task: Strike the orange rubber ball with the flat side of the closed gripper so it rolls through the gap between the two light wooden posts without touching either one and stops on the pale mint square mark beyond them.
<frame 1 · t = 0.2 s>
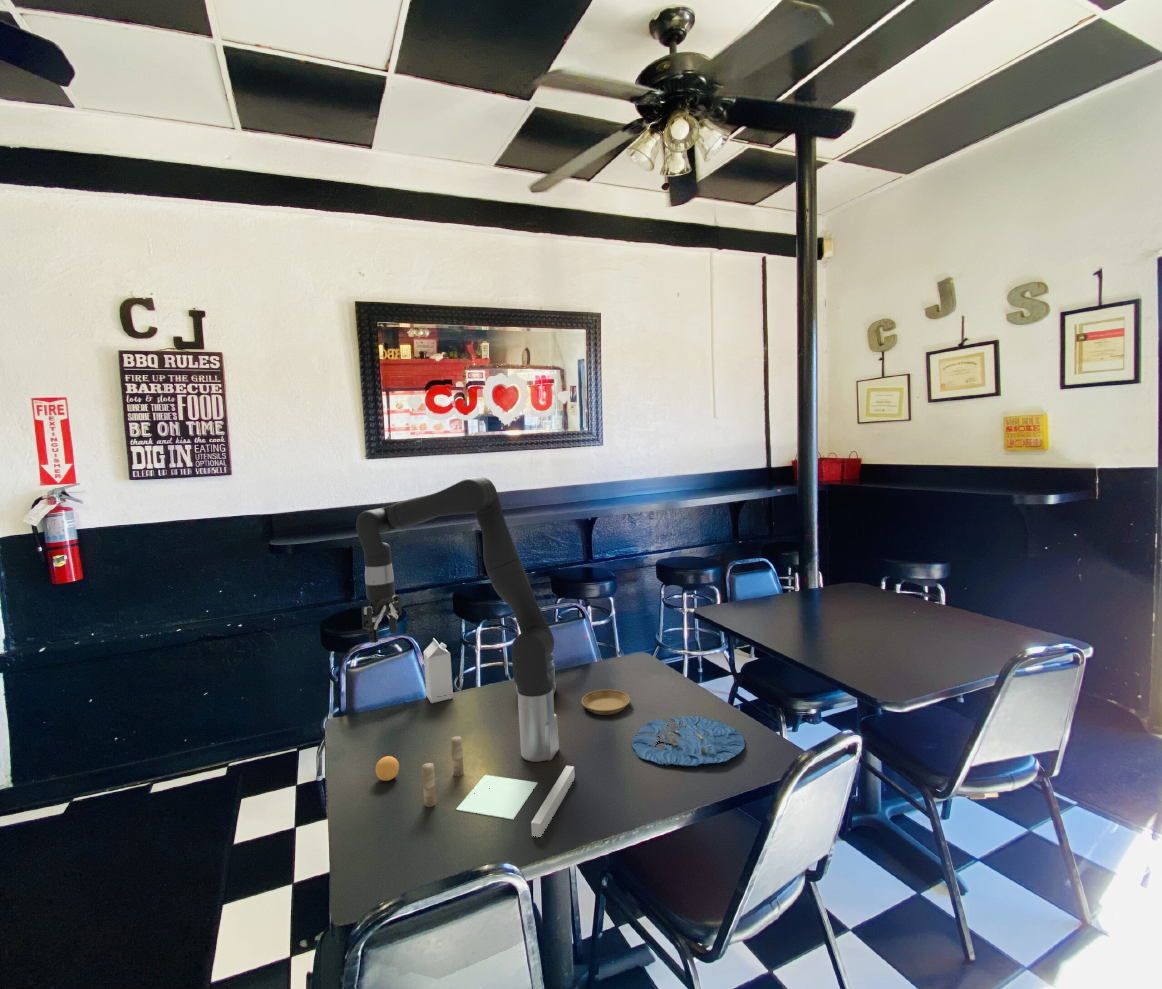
hand: (384, 637, 164), 29 cm above the table, tool pointing down, fingers open, 8 cm apart
plant saucer: (606, 708, 179), on the table
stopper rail: (554, 805, 131), on the table
decorative plate: (686, 745, 155), on the table
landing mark: (498, 796, 135), on the table
ball: (387, 768, 144), on the table
post right: (458, 773, 145), on the table
milk carton: (439, 697, 191), on the table
post left: (430, 803, 133), on the table
canister: (536, 693, 191), on the table
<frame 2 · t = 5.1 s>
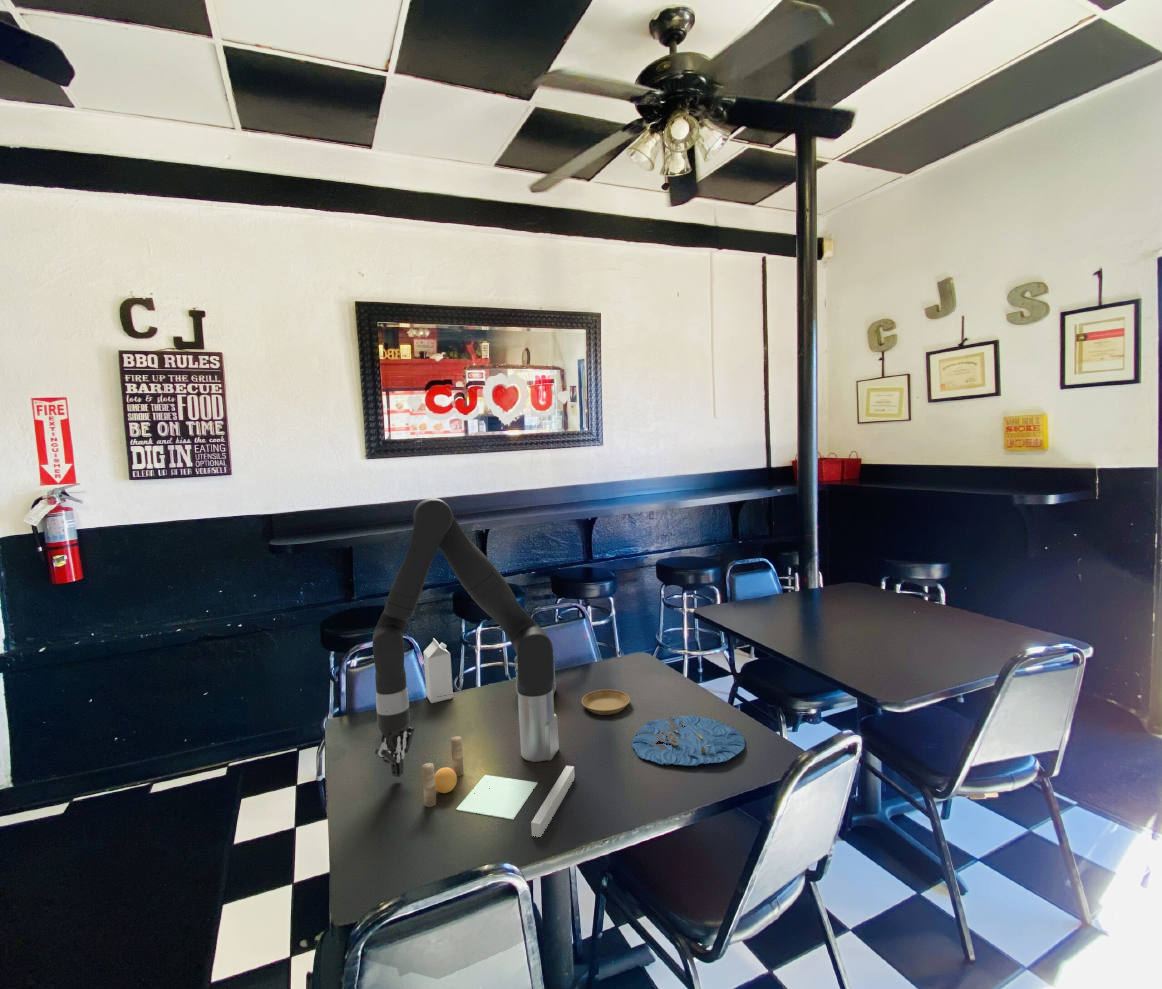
hand: (398, 774, 143), 2 cm above the table, tool pointing down, fingers closed
ball: (444, 780, 138), on the table
everything else where it was.
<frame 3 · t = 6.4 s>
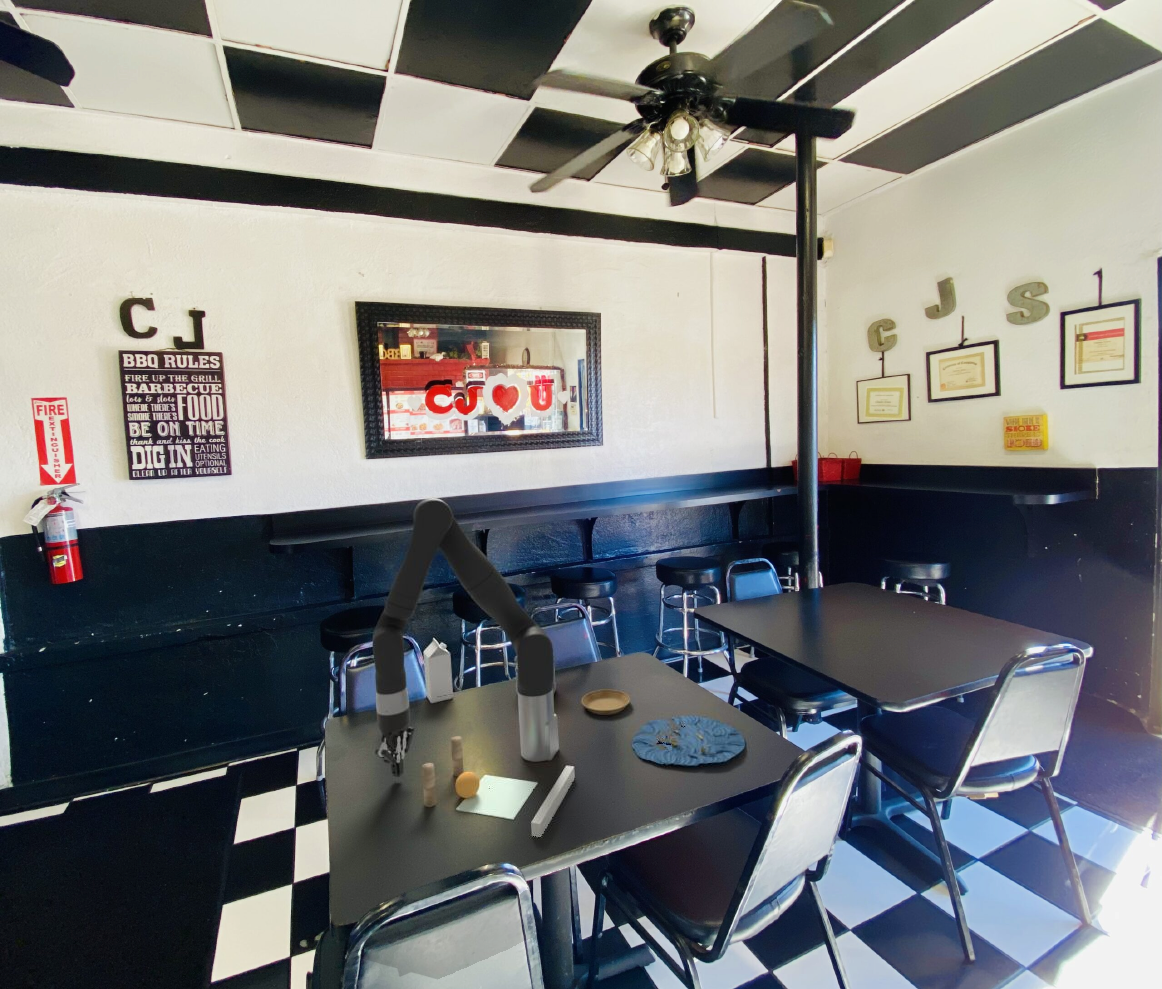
hand: (398, 774, 143), 2 cm above the table, tool pointing down, fingers closed
ball: (467, 784, 135), on the table
everything else where it was.
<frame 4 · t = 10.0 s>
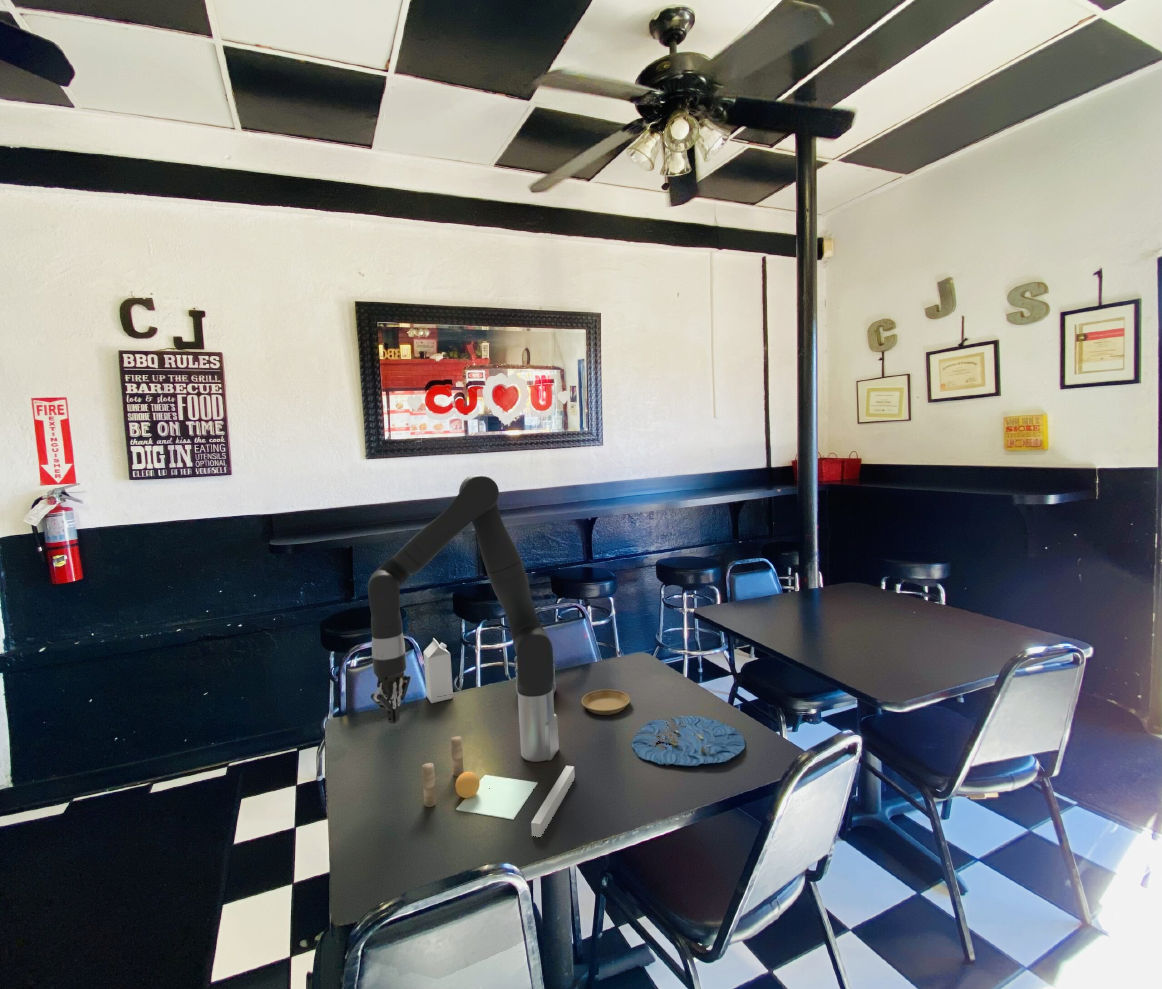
hand: (394, 721, 142), 15 cm above the table, tool pointing down, fingers closed
nothing on the table moved.
at the end: ball 7.1 cm from the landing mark (horizontally); ball never touched post left; ball never touched post right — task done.
